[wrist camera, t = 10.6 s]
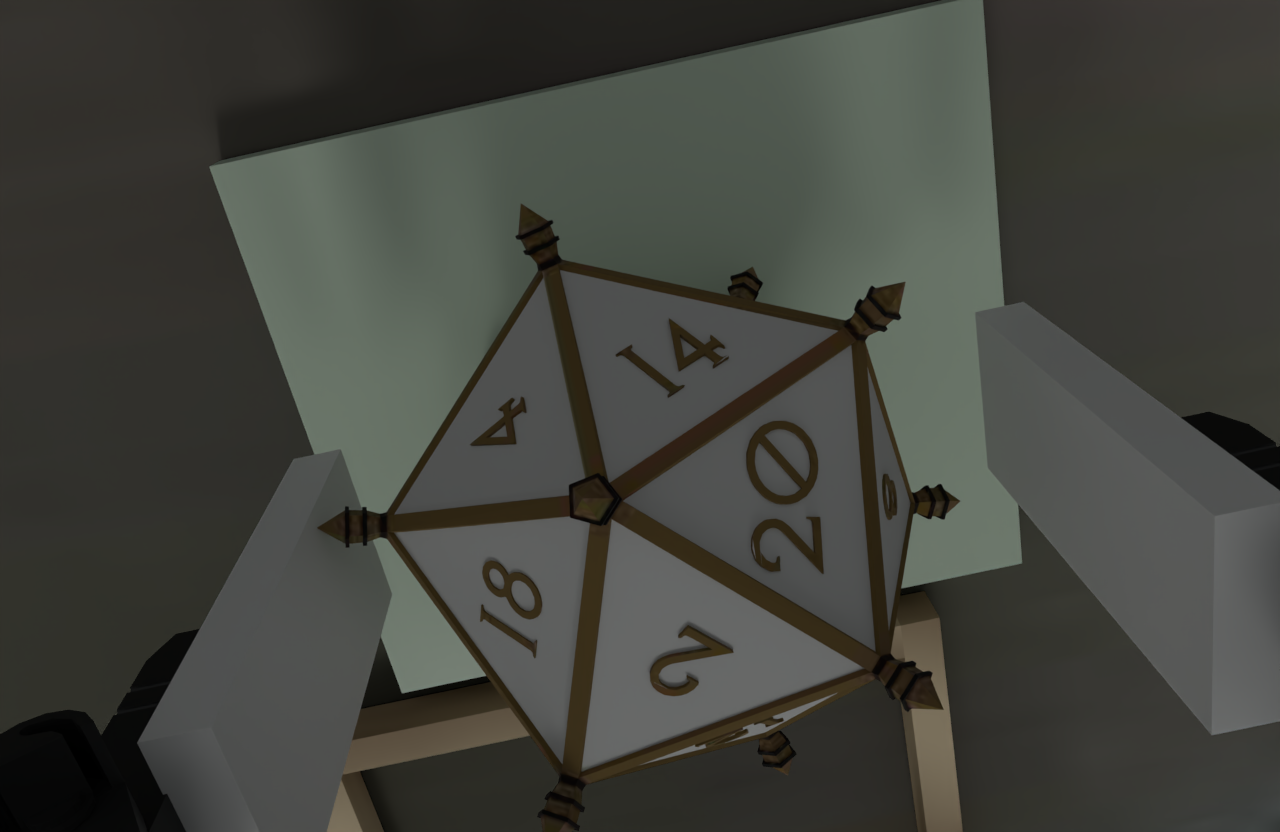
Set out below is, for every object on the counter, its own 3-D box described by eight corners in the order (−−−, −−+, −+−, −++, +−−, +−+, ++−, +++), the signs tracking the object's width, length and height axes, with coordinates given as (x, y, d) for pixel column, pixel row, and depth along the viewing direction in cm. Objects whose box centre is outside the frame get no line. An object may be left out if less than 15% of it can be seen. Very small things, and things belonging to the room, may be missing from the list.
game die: (565, 259, 22) (337, 30, 12) (984, 349, 20) (1106, 163, 10) (451, 683, 21) (115, 797, 12) (871, 816, 20) (890, 1085, 10)
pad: (1010, 548, 22) (1022, 563, 22) (406, 675, 22) (401, 693, 22) (969, -6, 18) (982, -5, 17) (219, 160, 18) (209, 166, 18)
